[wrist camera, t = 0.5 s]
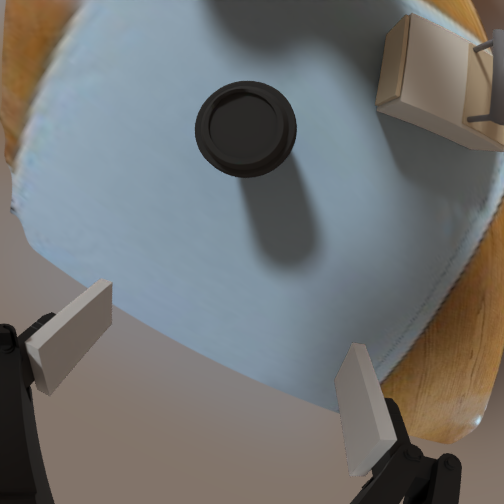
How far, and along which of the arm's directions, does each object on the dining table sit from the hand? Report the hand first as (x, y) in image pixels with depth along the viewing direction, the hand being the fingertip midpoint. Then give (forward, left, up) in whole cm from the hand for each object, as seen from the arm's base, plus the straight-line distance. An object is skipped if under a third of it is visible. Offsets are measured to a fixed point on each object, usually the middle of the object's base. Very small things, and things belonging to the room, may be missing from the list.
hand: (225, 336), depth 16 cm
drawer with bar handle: (-24, +24, -18) cm, 39 cm away
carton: (-24, +20, -27) cm, 42 cm away
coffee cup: (-11, -3, -28) cm, 30 cm away
